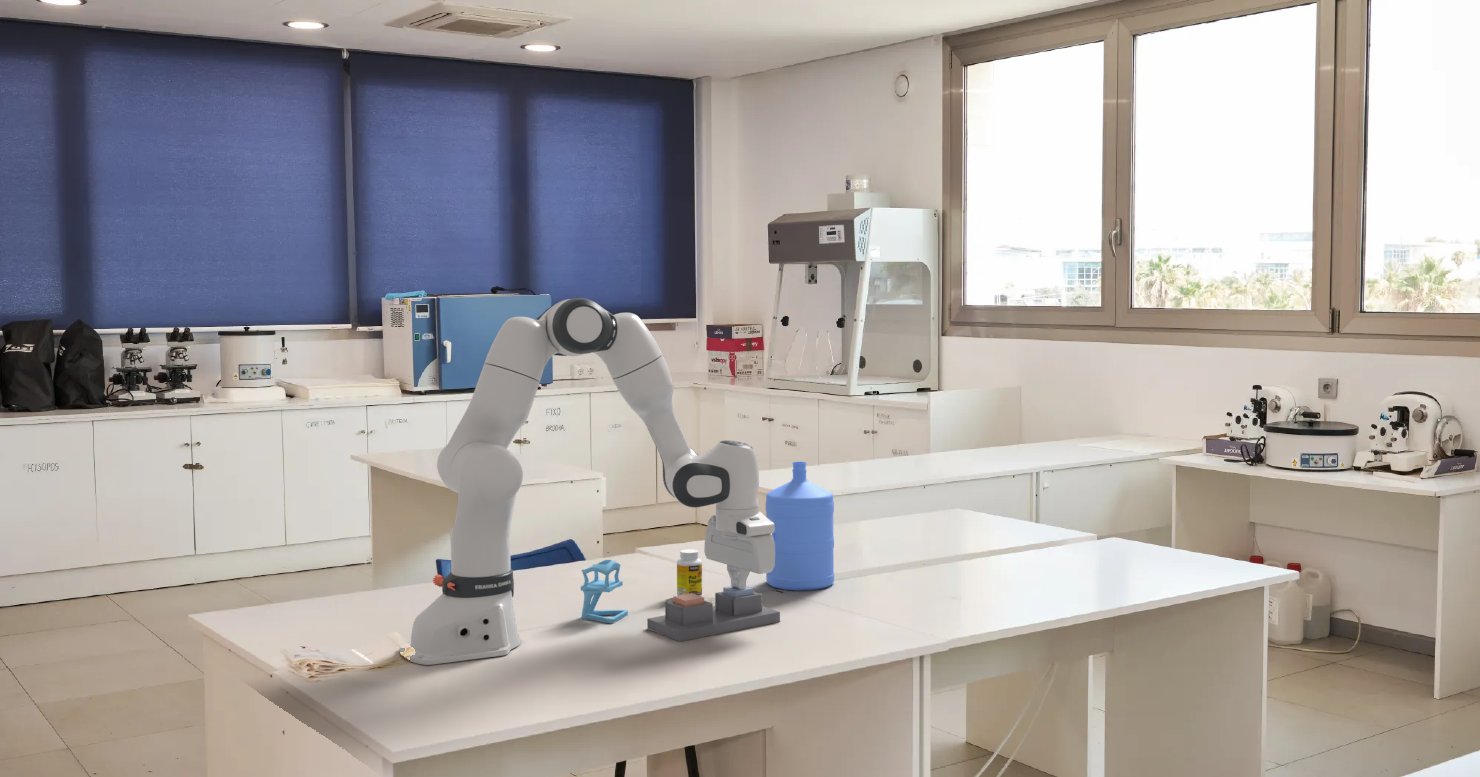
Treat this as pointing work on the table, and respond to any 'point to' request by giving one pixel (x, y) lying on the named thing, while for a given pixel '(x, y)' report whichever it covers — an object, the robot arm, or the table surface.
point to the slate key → (738, 591)
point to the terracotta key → (688, 600)
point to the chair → (600, 592)
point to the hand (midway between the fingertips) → (738, 587)
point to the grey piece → (712, 617)
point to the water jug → (801, 534)
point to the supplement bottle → (689, 573)
